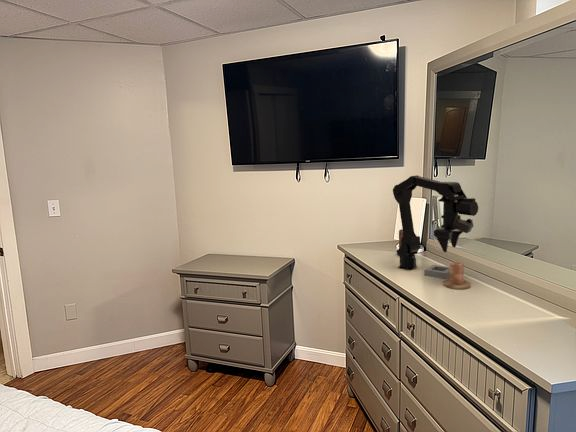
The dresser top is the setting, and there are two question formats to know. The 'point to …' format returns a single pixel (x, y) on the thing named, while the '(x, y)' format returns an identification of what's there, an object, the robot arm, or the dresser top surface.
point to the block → (456, 273)
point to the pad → (454, 286)
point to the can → (400, 236)
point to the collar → (437, 271)
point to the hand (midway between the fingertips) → (449, 249)
